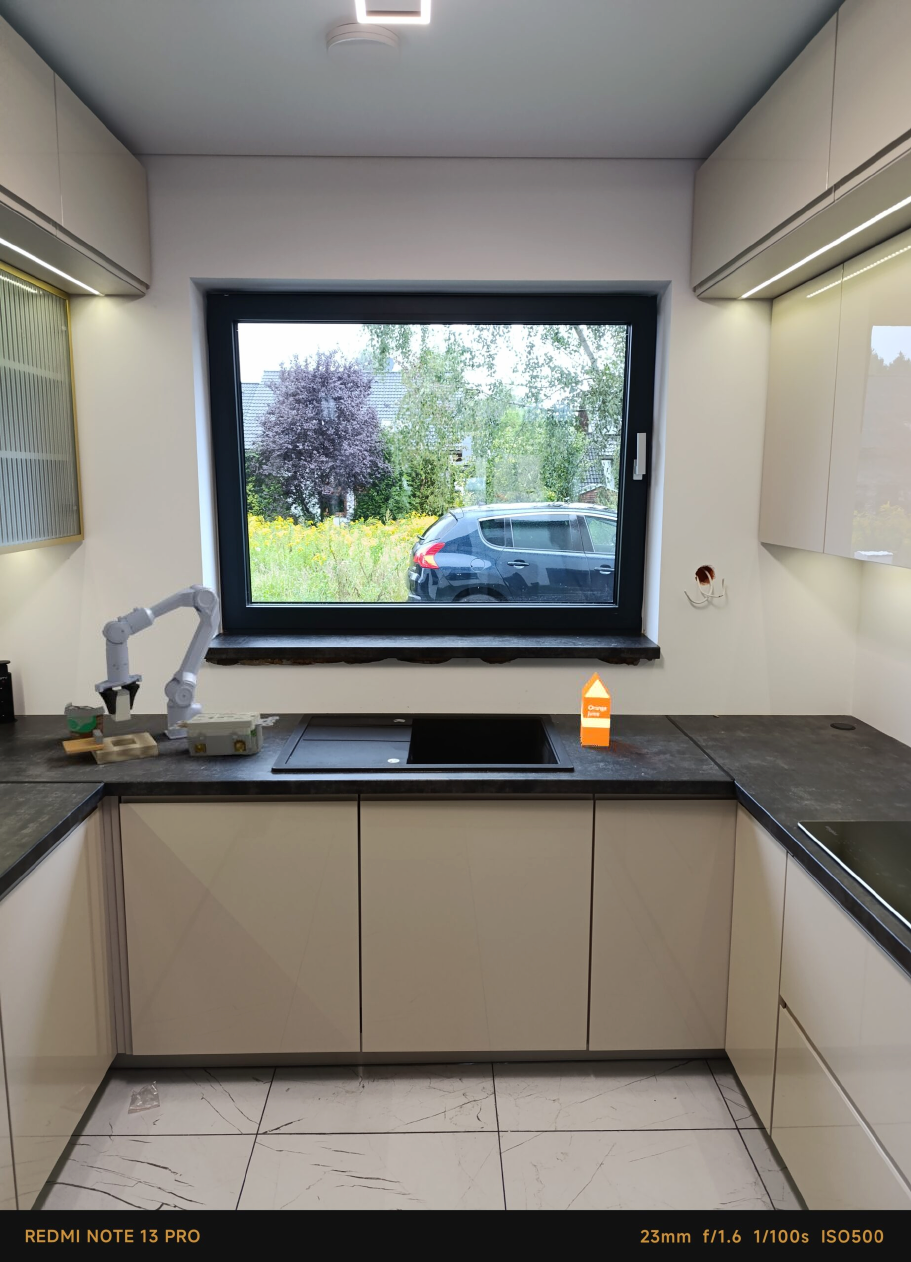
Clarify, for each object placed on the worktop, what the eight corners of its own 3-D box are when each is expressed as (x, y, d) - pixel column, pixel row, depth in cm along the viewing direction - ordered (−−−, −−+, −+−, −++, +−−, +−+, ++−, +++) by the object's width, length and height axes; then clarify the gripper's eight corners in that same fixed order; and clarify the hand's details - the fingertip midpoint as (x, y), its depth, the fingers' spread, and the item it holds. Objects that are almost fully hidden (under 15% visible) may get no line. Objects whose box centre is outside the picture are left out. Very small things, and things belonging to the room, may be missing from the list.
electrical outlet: (272, 757, 224) (269, 721, 222) (168, 761, 226) (164, 725, 224) (283, 743, 236) (280, 709, 234) (184, 747, 237) (180, 713, 236)
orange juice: (606, 738, 246) (609, 672, 242) (609, 748, 237) (612, 679, 234) (579, 737, 246) (582, 671, 243) (581, 747, 238) (583, 678, 234)
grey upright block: (125, 715, 238) (124, 688, 237) (130, 719, 235) (129, 691, 234) (111, 718, 236) (109, 690, 234) (116, 721, 233) (114, 693, 231)
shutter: (99, 739, 228) (98, 728, 228) (104, 748, 221) (103, 736, 220) (62, 744, 224) (62, 732, 223) (67, 753, 216) (66, 741, 216)
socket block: (148, 742, 237) (147, 732, 237) (157, 755, 226) (157, 744, 226) (90, 750, 230) (90, 739, 229) (98, 764, 219) (97, 753, 218)
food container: (55, 741, 237) (53, 707, 235) (72, 735, 243) (69, 702, 241) (91, 746, 233) (89, 711, 232) (107, 740, 239) (104, 706, 237)
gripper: (106, 670, 224) (109, 719, 227) (148, 660, 237) (151, 707, 240) (88, 667, 228) (91, 716, 230) (130, 658, 240) (133, 704, 243)
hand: (120, 711), depth 235 cm, fingers closed on grey upright block, 5 cm apart
